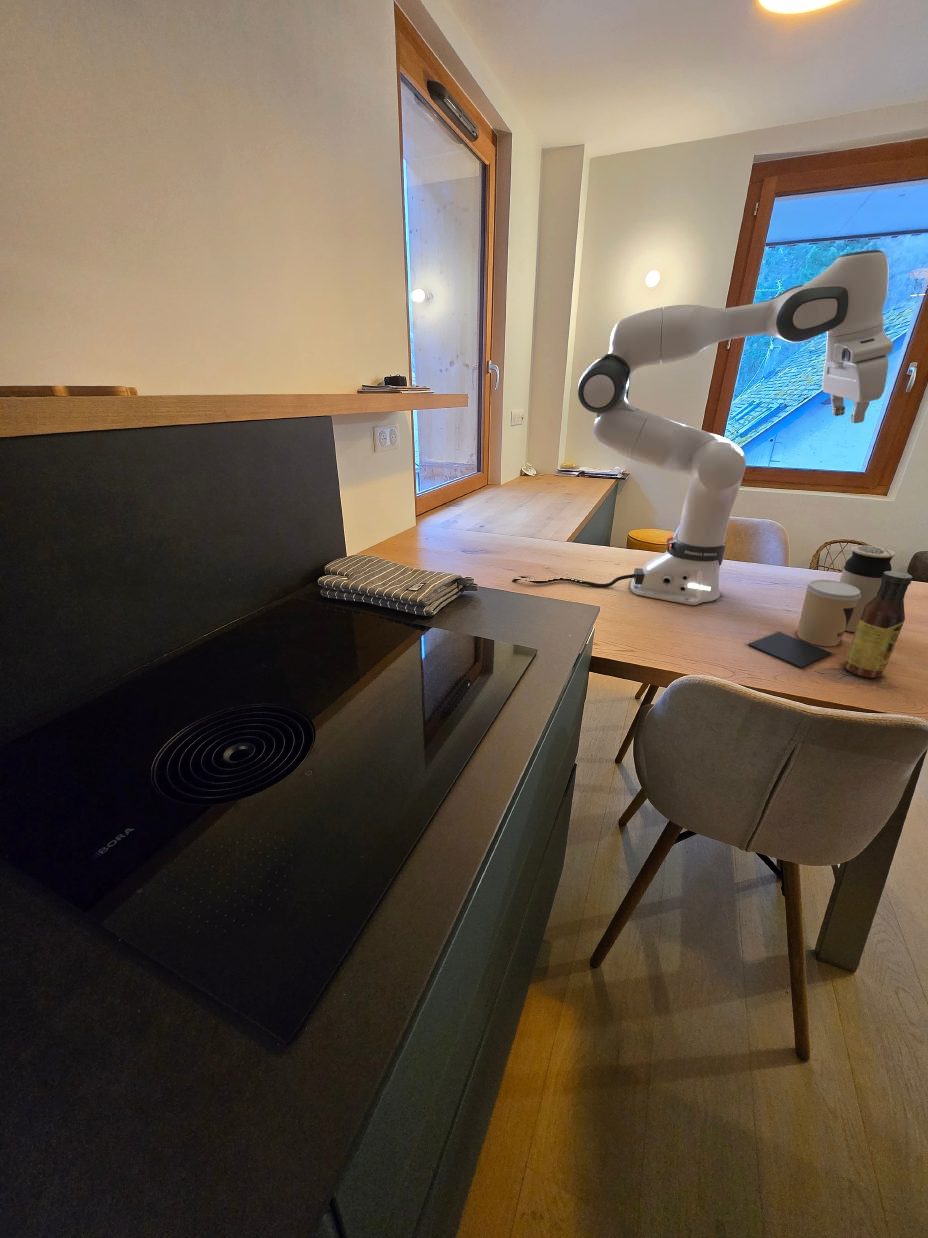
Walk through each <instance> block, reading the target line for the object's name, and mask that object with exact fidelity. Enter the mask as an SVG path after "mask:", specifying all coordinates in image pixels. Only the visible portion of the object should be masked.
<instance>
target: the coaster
mask: <svg viewBox="0 0 928 1238" xmlns="http://www.w3.org/2000/svg"><path fill="white" fill-rule="evenodd" d="M747 646H748V647H751V648H752V649H755V650H757V651H760V652H761V653H764V654H767V655H769V656H771V657H774V658H775V659H778V660H781V661H783V662H785V663H787V664H790V665H792V666H794V667H797V668H798V669H803V668H806V667H807V666H810V665H811V664H812V665H813V664H814V663H816V662H818V661H820V660H823V659H825V658H827V657H829V656H832V655H833V652H831V651H829V650H826V649H824V648H821V647H819V646H817V645H815V644H812V643H809V642H806V641H804V640H802V639H798V638H796V637H794V636H792V635H791V636H790V635H788V634H786V633H783V632H781V631H778V632H775V633H773V634H770V635H768V636H765V637H763V638H759V639H757V640H755V641H753V642H749V643H748V645H747Z"/></svg>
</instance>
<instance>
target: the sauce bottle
mask: <svg viewBox="0 0 928 1238" xmlns="http://www.w3.org/2000/svg"><path fill="white" fill-rule="evenodd" d="M912 580H913V575H911V574H909V573H906V572H902V571H895V570H891V571H886V572H884V573H883V576H882V579H881V581H882V583H881V585H880V588H879V591H878V592H877V596H876V597H875V598H873V599H872V600H871V601H869V602H868V603H867V604H866V605H865V607H864V609H863V613H862V615H861V618H860V619H859V622H858V624H857V627H856V630H855V632H853V636H852V639H851V642H850V645H849V647H848V650H847V653H846V656H845V662H844V668H845V670H847V671H848V673H849V672H850V673H851V674H854V675H855V676H859V677H863V678H867V679H868V678H869V679H875V678H880V677H881V676H882V675H883V673H884V671H885V670H886V669H887V667H888V663H889V662H890V659H891V657H892V654H893V651H894V649H895V646H896V644H897V642H898V639H899V636H900V634H901V632H902V631H901V630H902V629H903V626H904V623H905V620H906V613H905V595H906V592H907V590H908V587H909V586H910V585H911V584H912Z"/></svg>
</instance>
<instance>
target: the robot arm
mask: <svg viewBox="0 0 928 1238" xmlns="http://www.w3.org/2000/svg"><path fill="white" fill-rule="evenodd" d="M888 289H889V261H888V256H887V254H886V253H885V252H884V251H882V250H880V249H868V250H867V249H866V250H860V251H855V252H848V253H844V254H842V255H840V256H838V257H837V258H836V259H835V260H834V261H833V262H832V264H830V265H829V266H828V267H827V268H825V269H824V270H823V271H821V273H819V274H818V275H817V276H815V277H814V278H812V279H811V280H809V281H808V282H806V283H805V284H800V285H795V286H792V287H790V288H787V289H786V290H785V291H782V292H781V293H779V294H778V295H776V296H774V297H773V298H770V299H768V300H763V301H760V302H756V303H750V304H744V305H743V304H742V305H738V306H732V307H723V308H722V307H721V308H719V307H710V306H705V305H699V304H674V305H673V304H672V305H667V306H664V307H663V306H662V307H656V308H652V309H648V310H645V311H644V310H643V311H641V312H637V313H635V314H632V315H629V316H627V317H623V318H622V319H620V320H619V321H618V322H616V324H615V325H614V327H613V329H612V331H611V335H610V339H609V349H608V352H607V354H604V356H602V357H599V358H598V359H596V360H595V361H593V362H591V363H590V364H589V365H588V366H587V368H586V369H585V371H584V372H583V373H582V375H581V377H580V379H579V381H578V384H577V397H578V400H579V403H580V404H581V406H582V407H583V408H584V409H585V410H586V411H588V412H590V413H593V414H596V418H595V420H594V424H593V429H592V430H593V431H592V432H593V437H594V440H595V441H596V442H597V443H599V444H600V445H602V446H603V447H604V448H607V449H608V450H611V451H612V452H614V453H617V454H619V455H621V456H623V457H625V458H629V459H631V460H633V461H637V462H638V463H641V464H644V465H647V466H651V467H653V468H656V469H659V470H663V471H668V472H671V473H675V474H678V475H682V476H686V477H689V481H688V487H687V491H686V495H685V499H684V502H683V507H682V510H681V516H680V522H679V527H678V533H677V537H674V536H673V535H669V536H668V537H667V538H666V540H665V541H666V542H665V543H666V544H667V547H666V551H665V552H663V553H661V554H659V555H657V556H655V557H653V558H652V559H651V558H650V559H649V560H648V561H647V562H646V563H645V564H644V566H643V567H642V568H640V567H639V568H637V567H636V568H635V567H634V569H633V570H634V571H633V573H632V574H625V575H620V576H617V577H616V578H613V579H612V580H611V581H610V582H607V583H599V582H598V583H597V582H593V581H588V580H580V579H577V578H573V579H574V580H571V579H572V577H570V578H571V579H563V578H560V579H553V580H548V581H527V580H525V581H526V582H528V583H532V584H535V585H537V584H539V585H541V584H543V585H544V584H548V583H553V582H570V583H573V584H574V583H575V584H579V585H584V586H589V587H590V586H592V587H595V588H609V587H613V586H614V585H615V584H616V583H618V582H620V581H623V580H629V579H632V580H630V581H631V582H630V585H629V586H630V590H631V592H632V593H633V594H635V595H637V596H642V597H646V598H652V599H657V600H663V601H668V602H672V603H678V604H683V605H689V606H696V605H698V604H699V605H700V604H701V603H702V604H703V603H707V602H713V601H716V600H718V599H719V598H720V596H721V592H720V569H721V566H722V563H723V562H724V557H725V553H726V542H725V541H726V536H727V531H728V528H729V523H730V518H731V514H732V510H733V508H734V505H735V503H736V499H737V498H738V494H739V491H740V488H741V484H742V482H743V478H744V475H745V473H746V468H747V458H746V455H745V452H744V450H742V448H741V447H740V446H739V445H737V444H736V443H735V442H733V441H731V440H730V439H729V438H727V437H723V436H721V435H718V434H715V433H712V432H709V431H706V430H702V429H699V428H696V427H693V426H691V425H687V424H684V423H680V422H678V421H675V420H672V419H669V418H666V417H663V416H660V415H659V414H656V413H652V412H648V411H646V410H643V409H640V408H638V407H635V406H633V405H632V404H631V403H630V402H629V401H628V399H629V391H630V385H631V375H632V373H634V372H635V371H636V370H638V369H641V368H644V367H648V366H649V367H650V366H657V365H664V364H670V363H675V362H679V361H682V360H685V359H689V358H691V357H694V356H696V355H698V354H700V352H702V351H704V350H705V349H707V348H708V347H711V346H713V345H715V344H717V343H720V342H724V341H729V340H735V339H741V338H747V337H748V338H749V337H754V336H771V337H773V338H777V339H780V340H783V341H786V342H788V343H804V342H806V341H810V340H812V339H813V338H815V337H817V336H820V335H823V334H825V333H826V344H825V345H826V347H825V361H824V365H823V372H822V380H821V381H822V382H821V388H822V392H824V393H826V394H829V395H830V402H831V407H832V411H831V412H832V416H834V417H839V416H844V415H845V410H846V406H845V403H844V402H845V401H844V399H846V400H848V401H853V412H852V413H851V415H850V422H851V423H853V424H859V423H863V422H864V421H865V419H866V418H865V417H866V412H867V411H868V409H869V406H870V402H871V401H877V400H880V399H881V398H882V396H883V394H884V392H885V389H886V385H887V384H886V383H887V377H888V371H889V357H888V356H889V355H891V354H892V353H893V349H894V342H893V340H892V339H890V337H888V336H887V334H886V332H885V331H884V327H885V318H884V313H883V312H884V306H885V304H886V301H887V297H888ZM518 577H521V578H529V579H530V577H527V576H523V575H519V576H518ZM515 578H516V577H515ZM515 578H512V580H511V583H516V582H518V581H522V580H521V579H515ZM575 580H577V581H575ZM580 581H582V582H580Z"/></svg>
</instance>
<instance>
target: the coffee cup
mask: <svg viewBox="0 0 928 1238" xmlns="http://www.w3.org/2000/svg"><path fill="white" fill-rule="evenodd" d="M805 591H806V592H805V596H804V600H803V605H802V609H801V614H800V618H799V623H798V627H797V637H798V638H799V639H800V640H801V641H803V642H806V643H808V644H811V645H814V646H820V647H821V646H822V647H835V646H837V645H839V643H840V641H841V639H842V638H843V635H844V633H845V632H846V631H845V629H846V626H847V624H848V622H849V620H850V618H851V616H852V613H853V611H854V609H855V607H856V604H857V602H858V600H859V599H860V597H861V594H860V590H859V589H858V588H856V587H854V586H852V585H849V584H846V583H842V582H839V581H838V580H837V581H836V580H831V579H815V580H812V581H810V582H809V583H808V584H807V585H806V590H805Z"/></svg>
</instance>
